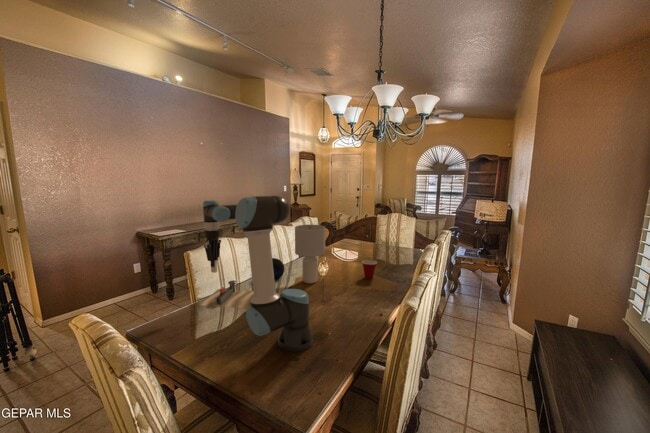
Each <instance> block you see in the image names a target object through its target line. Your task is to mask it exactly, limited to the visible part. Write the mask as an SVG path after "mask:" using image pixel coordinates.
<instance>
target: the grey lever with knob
mask: <svg viewBox="0 0 650 433" xmlns="http://www.w3.org/2000/svg"><path fill="white" fill-rule="evenodd" d="M227 283H228V285H229V287H230V289H228V290H227V291H226V292H225V293H224V294H223V295H222V296H220V297H219V305H222V304H223V303H224V302H225V301H226V300H227V299H228V298H229V297H230V296H231V295H232V294H233V284H235V285H236V284H237V280H234V279H233V280H229V281H228V282H227Z"/></svg>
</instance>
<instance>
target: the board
mask: <svg viewBox="0 0 650 433" xmlns="http://www.w3.org/2000/svg"><path fill="white" fill-rule="evenodd" d="M220 289H221V288H219V289H216V290H215V291H214V292H213V293H212V294H211V295H209V297H207V298H206V299H205V300H203V302H201V303H200V304H199V306H201V307H202V306H205V307H206V306H207V307H219V308H220V307H223V308H239V309H240V308H241V309H245V308H246V307H247V306H248V305H249V303H251V299H252V298H253V296H254V292H253V290H239V289H238V290H237V289H235V292H234V293H233V294H232V295H231V296H230V297H229V298H228V299H227V300H226V301H225V302H224V303H223V304H222V305H219V303H218V304H217V305H215V297H216V296H217V295H219V294H220Z"/></svg>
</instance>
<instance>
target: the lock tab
mask: <svg viewBox="0 0 650 433" xmlns="http://www.w3.org/2000/svg"><path fill="white" fill-rule="evenodd" d="M219 289H220V293H224V292H225V289H226V287H224V286H222V287H221V288H219Z"/></svg>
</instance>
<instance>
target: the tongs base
mask: <svg viewBox="0 0 650 433" xmlns="http://www.w3.org/2000/svg"><path fill="white" fill-rule="evenodd" d="M235 285H236V284H233V293H234V292H235V290H236V288H235V287H236V286H235ZM228 289H230V286H228V287H227V288H225V292H226V291H227V290H228ZM225 292H224V293H225ZM224 293H220V294H219V295H217V296H216V297H215V305H217V304H218V303H219V297H220V296H222V295H223V294H224Z"/></svg>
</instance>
